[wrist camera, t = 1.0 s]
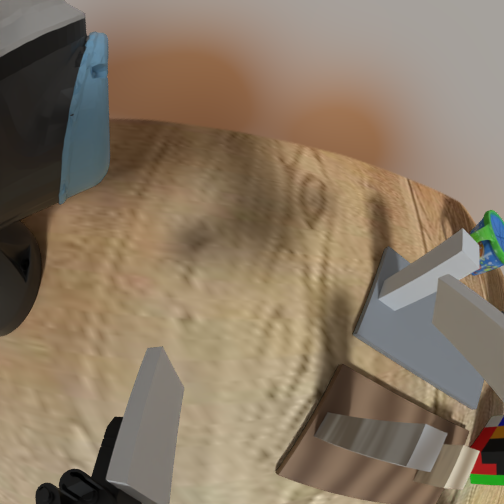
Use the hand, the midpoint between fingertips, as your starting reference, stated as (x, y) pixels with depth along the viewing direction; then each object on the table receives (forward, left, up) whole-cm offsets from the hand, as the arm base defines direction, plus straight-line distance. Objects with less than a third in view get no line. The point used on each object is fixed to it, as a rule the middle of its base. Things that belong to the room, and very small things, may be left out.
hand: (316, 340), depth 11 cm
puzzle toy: (+50, +3, -17) cm, 53 cm away
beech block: (+32, -2, -16) cm, 36 cm away
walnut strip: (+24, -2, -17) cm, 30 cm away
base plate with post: (+24, +16, -17) cm, 34 cm away
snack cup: (+29, +36, -17) cm, 49 cm away
